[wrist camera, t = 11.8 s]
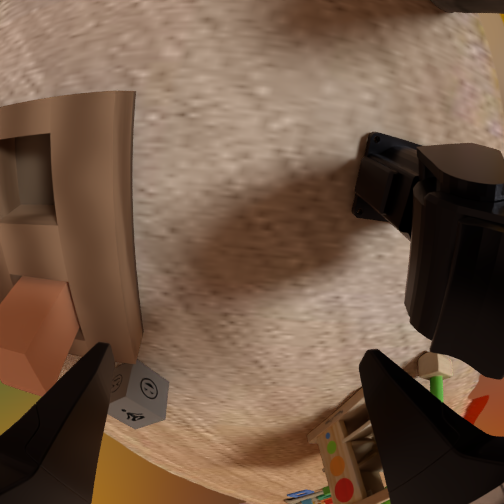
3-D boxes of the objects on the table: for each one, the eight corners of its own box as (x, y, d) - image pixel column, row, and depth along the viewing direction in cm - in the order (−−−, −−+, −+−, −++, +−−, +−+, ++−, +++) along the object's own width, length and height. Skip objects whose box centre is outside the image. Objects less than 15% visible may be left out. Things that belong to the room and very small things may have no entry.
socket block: (135, 91, 16) (115, 90, 12) (143, 331, 25) (135, 364, 22) (-15, 112, 14) (-47, 120, 10) (22, 313, 23) (6, 339, 20)
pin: (80, 262, 21) (24, 354, 12) (89, 306, 23) (50, 398, 14) (36, 258, 20) (-25, 339, 12) (48, 300, 22) (2, 383, 14)
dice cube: (140, 394, 31) (135, 429, 26) (107, 371, 28) (98, 408, 24) (169, 381, 29) (165, 419, 25) (134, 356, 27) (125, 396, 23)
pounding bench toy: (406, 338, 30) (475, 467, 14) (460, 350, 34) (516, 442, 18) (304, 436, 39) (326, 536, 24) (368, 435, 43) (395, 516, 28)
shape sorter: (348, 494, 76) (350, 504, 72) (297, 507, 77) (299, 517, 73) (343, 477, 59) (347, 491, 55) (275, 493, 61) (277, 507, 57)
